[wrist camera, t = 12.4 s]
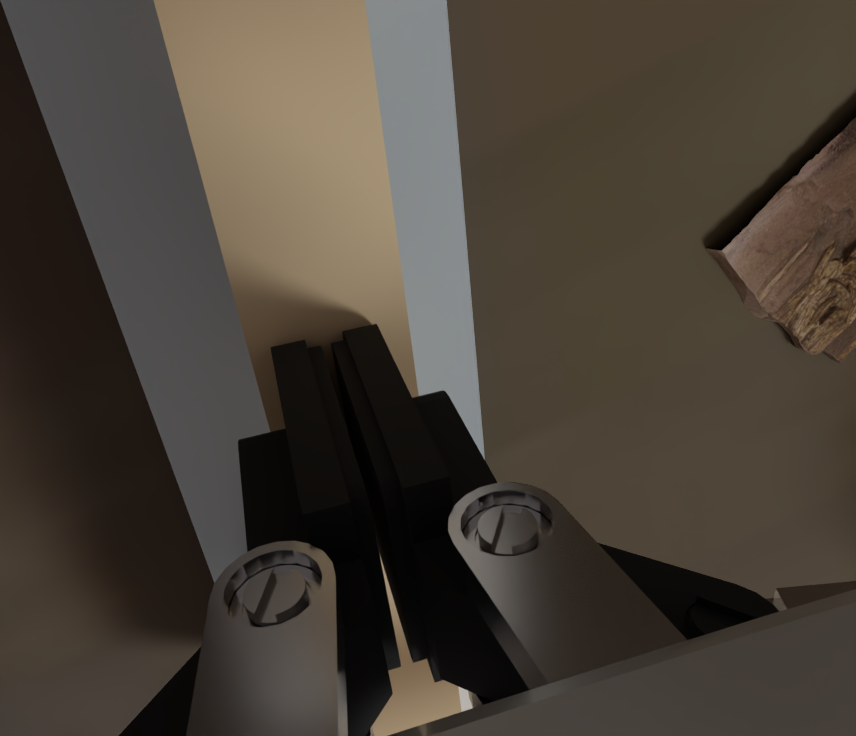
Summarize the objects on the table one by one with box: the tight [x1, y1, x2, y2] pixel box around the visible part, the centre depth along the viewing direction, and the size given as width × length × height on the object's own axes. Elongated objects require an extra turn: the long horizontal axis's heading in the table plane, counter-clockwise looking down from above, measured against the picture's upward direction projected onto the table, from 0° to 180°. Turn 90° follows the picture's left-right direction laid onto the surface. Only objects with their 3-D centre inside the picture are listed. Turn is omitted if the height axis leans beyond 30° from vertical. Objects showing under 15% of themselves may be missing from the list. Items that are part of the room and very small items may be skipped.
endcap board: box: [0, 0, 485, 712], centre depth 16 cm, size 27×8×4 cm, turn 6°
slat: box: [154, 0, 462, 736], centre depth 14 cm, size 20×2×6 cm, turn 6°
